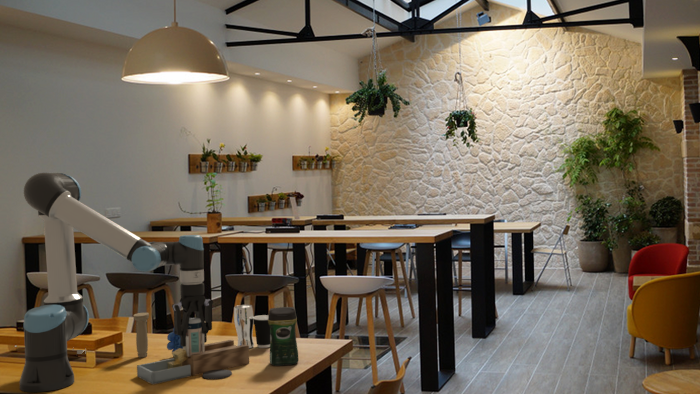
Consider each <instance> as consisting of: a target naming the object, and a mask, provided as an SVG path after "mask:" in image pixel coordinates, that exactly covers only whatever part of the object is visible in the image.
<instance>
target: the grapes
mask: <svg viewBox="0 0 700 394" xmlns="http://www.w3.org/2000/svg"><path fill="white" fill-rule="evenodd" d="M167 341H168V343H167V344H166V348H167V350H168V351H171V353H172V352H174V351H175V350H177V349H179V348H181V349H183V346H181V343H180V342H181V341H180V336H179V335H176V334H174V327H173V329H172V332H170V333H168V334H167Z"/></svg>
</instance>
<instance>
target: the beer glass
mask: <svg viewBox="0 0 700 394" xmlns="http://www.w3.org/2000/svg"><path fill="white" fill-rule="evenodd" d="M253 310H254V309H253V305H252V304H240V305H235V306H234V307H233V317H234V320H233V321H234V326H235V330H236V335H237V345H236V346H241V345H249V349H252V348H254V347H255V343H254V338H253V332H254V331H253V330H254V319H253V317H254V311H253Z"/></svg>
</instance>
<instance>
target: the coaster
mask: <svg viewBox="0 0 700 394" xmlns="http://www.w3.org/2000/svg"><path fill="white" fill-rule="evenodd" d="M232 375H233V373H232V370H230V369H217V370H210V371H207V372H204V373H203V374H202V378H203V379H206V380H223V379H226V378H230V377H231V376H232Z"/></svg>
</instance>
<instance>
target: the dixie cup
mask: <svg viewBox="0 0 700 394" xmlns="http://www.w3.org/2000/svg"><path fill="white" fill-rule="evenodd" d="M268 316H269V314H267V315H266V314H262V315H255V316H253V319H254V321H253V326H254V331H255V340H256V345H257V348H260V349H267V348H270V326H269V323H268Z"/></svg>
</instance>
